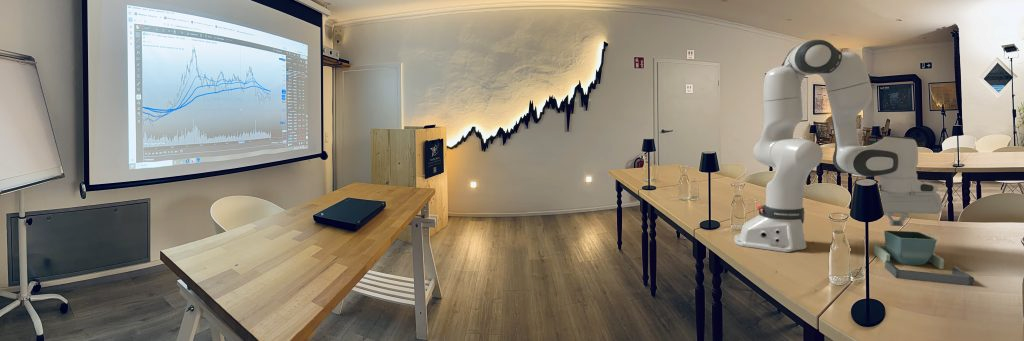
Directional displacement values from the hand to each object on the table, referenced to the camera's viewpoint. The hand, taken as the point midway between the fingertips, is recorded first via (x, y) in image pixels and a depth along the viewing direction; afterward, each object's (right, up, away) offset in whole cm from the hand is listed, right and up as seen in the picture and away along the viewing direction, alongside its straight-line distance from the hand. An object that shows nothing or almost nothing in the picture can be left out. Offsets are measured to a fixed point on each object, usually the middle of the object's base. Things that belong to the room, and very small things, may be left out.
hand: (896, 225), depth 131 cm
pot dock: (-11, -12, -20) cm, 26 cm away
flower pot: (-6, -10, -9) cm, 15 cm away
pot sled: (-5, -10, -8) cm, 13 cm away
